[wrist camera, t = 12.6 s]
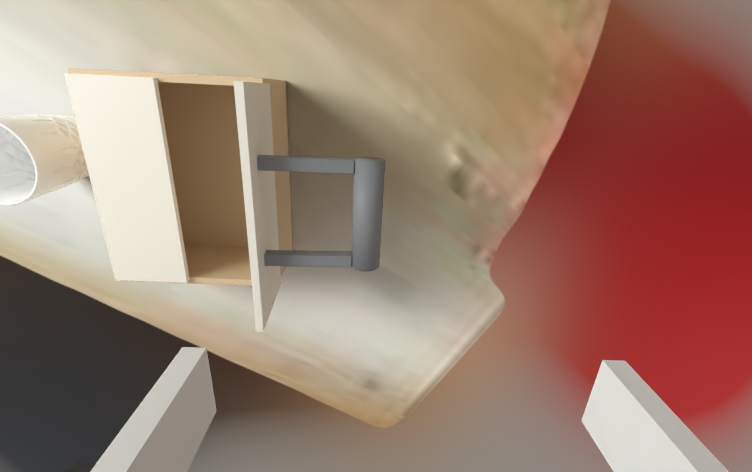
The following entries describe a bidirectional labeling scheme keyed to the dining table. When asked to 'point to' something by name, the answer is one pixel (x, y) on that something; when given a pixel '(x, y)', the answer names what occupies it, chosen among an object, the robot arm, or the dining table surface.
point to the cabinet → (173, 172)
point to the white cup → (38, 156)
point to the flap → (263, 208)
